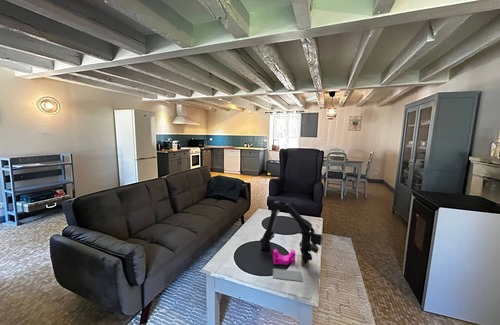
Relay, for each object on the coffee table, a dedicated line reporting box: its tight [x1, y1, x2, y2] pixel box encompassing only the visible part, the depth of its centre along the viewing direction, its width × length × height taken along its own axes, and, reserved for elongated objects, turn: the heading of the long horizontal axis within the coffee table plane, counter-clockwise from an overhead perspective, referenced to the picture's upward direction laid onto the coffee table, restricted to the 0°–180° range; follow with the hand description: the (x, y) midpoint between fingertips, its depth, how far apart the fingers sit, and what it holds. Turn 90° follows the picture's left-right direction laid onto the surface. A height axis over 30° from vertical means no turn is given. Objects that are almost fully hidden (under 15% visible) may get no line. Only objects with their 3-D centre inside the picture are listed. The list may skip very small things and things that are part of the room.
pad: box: [272, 268, 304, 283], centre depth 130 cm, size 18×9×1 cm, turn 82°
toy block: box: [272, 248, 296, 266], centre depth 143 cm, size 15×6×8 cm, turn 87°
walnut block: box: [300, 255, 310, 267], centre depth 142 cm, size 5×5×4 cm
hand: (304, 262), depth 142 cm, fingers closed on walnut block, 5 cm apart
